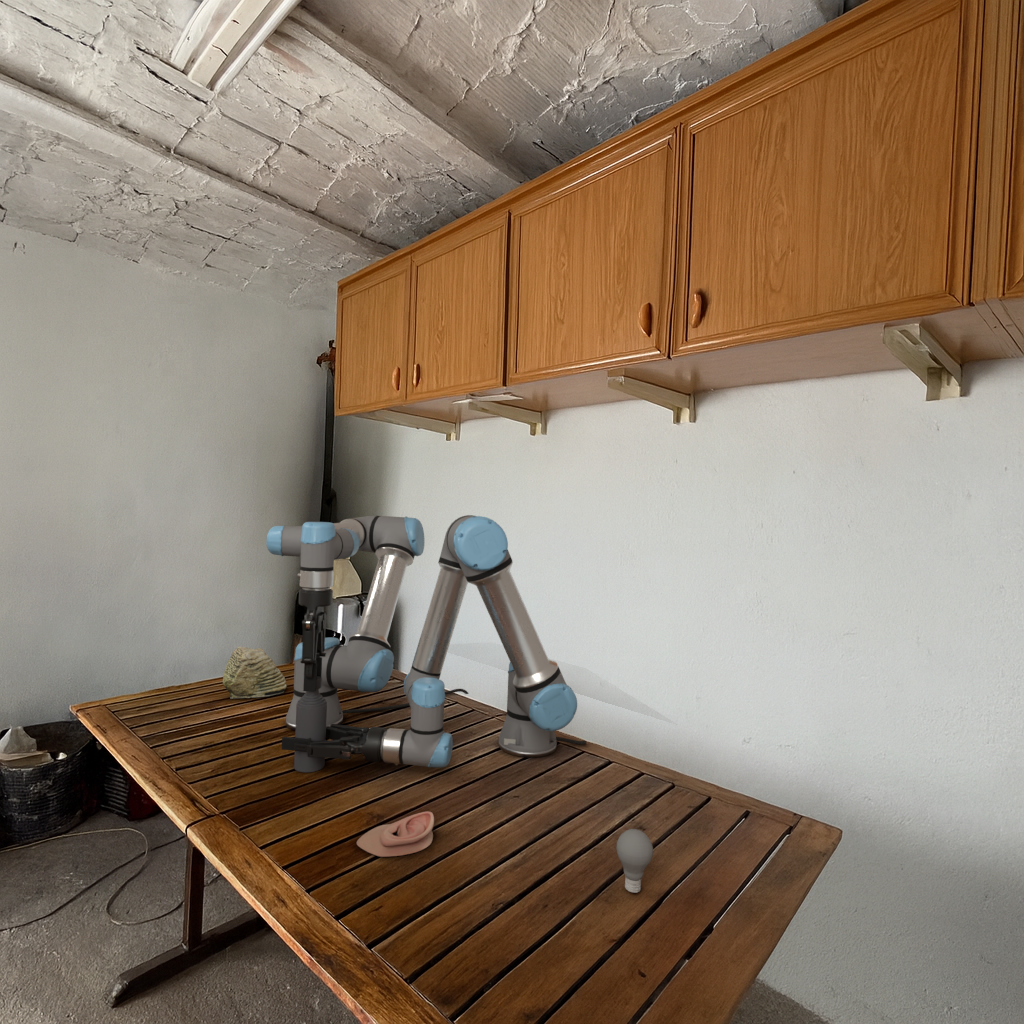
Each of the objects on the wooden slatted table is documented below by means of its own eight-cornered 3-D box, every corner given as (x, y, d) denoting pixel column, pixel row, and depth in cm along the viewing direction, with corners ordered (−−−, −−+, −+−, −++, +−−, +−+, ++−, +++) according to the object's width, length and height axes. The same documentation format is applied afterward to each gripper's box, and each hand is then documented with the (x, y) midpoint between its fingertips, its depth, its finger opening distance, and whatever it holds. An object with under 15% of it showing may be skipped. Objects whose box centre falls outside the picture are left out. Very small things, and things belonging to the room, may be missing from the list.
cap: (309, 691, 145) (310, 681, 145) (299, 687, 148) (300, 677, 148) (325, 687, 148) (325, 678, 148) (314, 683, 151) (315, 674, 151)
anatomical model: (349, 829, 113) (376, 800, 125) (348, 851, 113) (375, 820, 125) (420, 841, 111) (440, 810, 122) (419, 863, 111) (439, 830, 122)
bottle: (319, 773, 145) (322, 686, 145) (289, 771, 145) (292, 684, 145) (328, 760, 152) (331, 677, 151) (299, 759, 152) (303, 676, 151)
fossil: (218, 695, 195) (220, 647, 195) (278, 685, 208) (279, 640, 207) (228, 703, 189) (230, 653, 188) (289, 692, 201) (290, 645, 201)
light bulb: (610, 879, 108) (613, 822, 108) (644, 879, 109) (647, 822, 109) (619, 902, 102) (622, 840, 102) (655, 901, 103) (658, 840, 103)
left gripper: (309, 582, 156) (305, 677, 156) (289, 593, 139) (285, 698, 139) (340, 583, 156) (336, 677, 157) (323, 594, 139) (319, 699, 140)
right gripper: (370, 779, 137) (268, 770, 139) (396, 745, 156) (307, 737, 159) (371, 745, 136) (270, 736, 139) (397, 714, 156) (308, 707, 159)
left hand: (312, 687), depth 148 cm, fingers closed on cap, 4 cm apart
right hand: (290, 737), depth 149 cm, fingers closed on bottle, 7 cm apart
